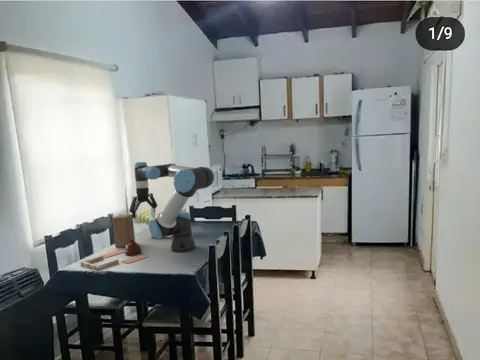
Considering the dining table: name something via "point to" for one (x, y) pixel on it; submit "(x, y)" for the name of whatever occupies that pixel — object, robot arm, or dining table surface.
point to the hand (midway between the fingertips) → (144, 220)
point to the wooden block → (123, 229)
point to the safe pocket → (98, 267)
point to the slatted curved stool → (148, 217)
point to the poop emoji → (132, 248)
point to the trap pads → (126, 259)
